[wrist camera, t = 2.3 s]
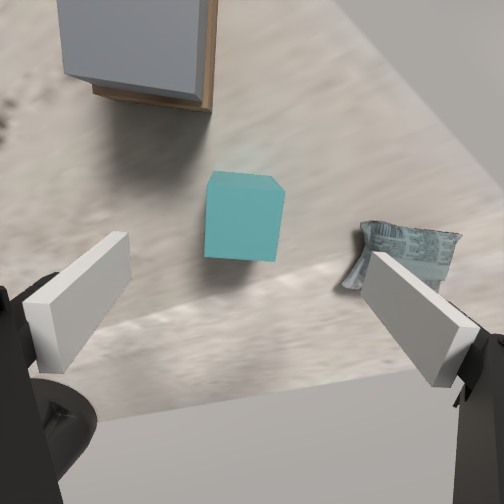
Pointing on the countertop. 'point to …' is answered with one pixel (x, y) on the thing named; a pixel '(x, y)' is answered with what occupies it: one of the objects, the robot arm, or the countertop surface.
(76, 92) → the countertop surface
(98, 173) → the countertop surface
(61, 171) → the countertop surface
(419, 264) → the packaged food
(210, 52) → the walnut base
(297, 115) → the countertop surface
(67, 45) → the charcoal block
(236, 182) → the teal block
